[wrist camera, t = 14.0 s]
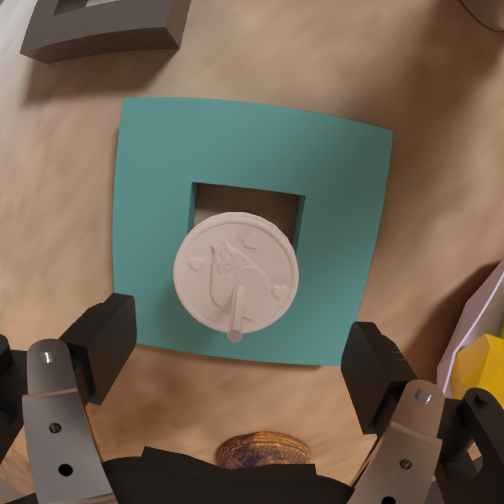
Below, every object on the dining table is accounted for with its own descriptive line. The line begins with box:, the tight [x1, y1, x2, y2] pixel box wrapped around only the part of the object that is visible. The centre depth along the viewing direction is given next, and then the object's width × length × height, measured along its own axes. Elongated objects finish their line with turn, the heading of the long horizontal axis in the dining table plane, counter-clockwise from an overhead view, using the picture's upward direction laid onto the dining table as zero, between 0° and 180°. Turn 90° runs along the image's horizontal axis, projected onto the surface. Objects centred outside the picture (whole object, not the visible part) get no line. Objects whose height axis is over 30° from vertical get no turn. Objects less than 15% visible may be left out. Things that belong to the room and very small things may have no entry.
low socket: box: [112, 97, 394, 366], centre depth 23 cm, size 20×20×2 cm
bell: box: [218, 431, 311, 469], centre depth 29 cm, size 12×12×7 cm
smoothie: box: [173, 212, 299, 342], centre depth 17 cm, size 6×6×14 cm
